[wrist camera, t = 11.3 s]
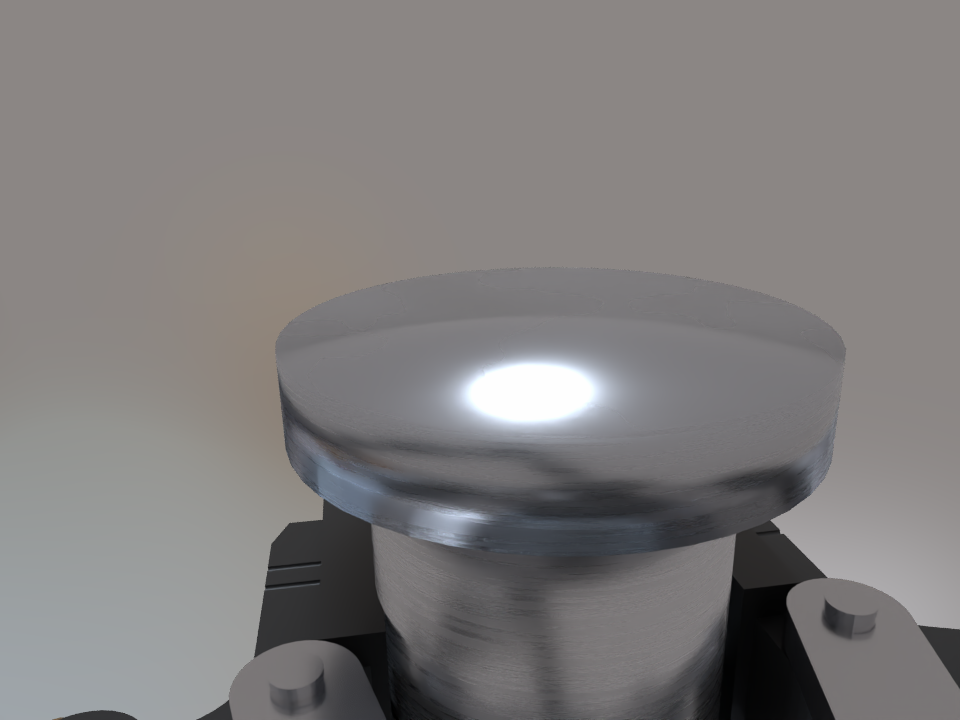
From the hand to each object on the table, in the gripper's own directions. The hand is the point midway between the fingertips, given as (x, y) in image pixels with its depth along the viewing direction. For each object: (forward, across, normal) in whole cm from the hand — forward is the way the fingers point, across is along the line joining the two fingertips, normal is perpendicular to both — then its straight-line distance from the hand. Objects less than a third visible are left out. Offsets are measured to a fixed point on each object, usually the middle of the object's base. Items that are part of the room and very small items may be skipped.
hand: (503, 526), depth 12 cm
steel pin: (-3, 0, +9) cm, 9 cm away
